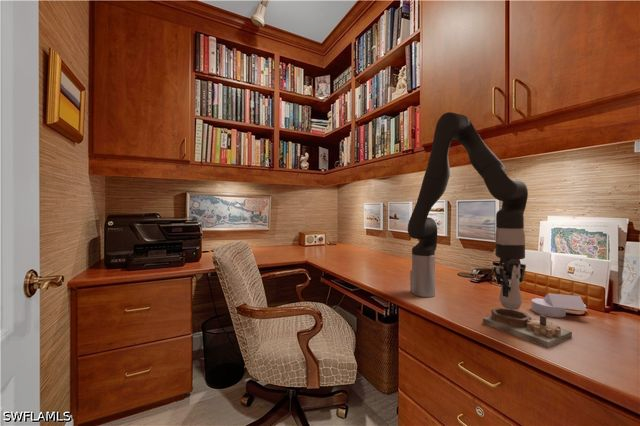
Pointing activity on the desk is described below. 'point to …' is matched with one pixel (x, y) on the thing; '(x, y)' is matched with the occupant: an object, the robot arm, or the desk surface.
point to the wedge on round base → (557, 304)
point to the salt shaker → (512, 294)
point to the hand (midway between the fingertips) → (510, 297)
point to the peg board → (527, 326)
